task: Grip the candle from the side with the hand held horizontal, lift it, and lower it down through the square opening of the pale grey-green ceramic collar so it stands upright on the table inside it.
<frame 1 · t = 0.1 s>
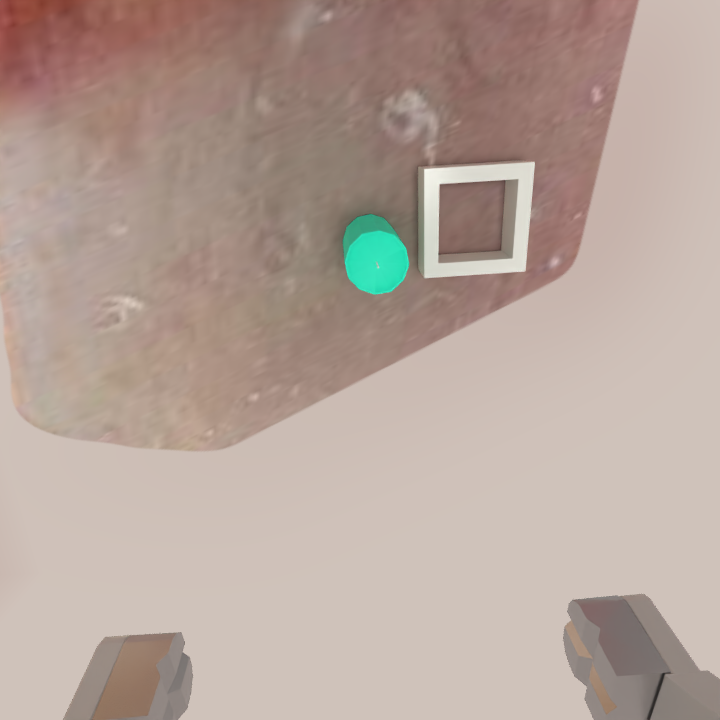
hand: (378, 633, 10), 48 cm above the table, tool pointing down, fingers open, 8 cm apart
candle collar: (467, 216, 54), on the table
candle: (369, 241, 55), on the table
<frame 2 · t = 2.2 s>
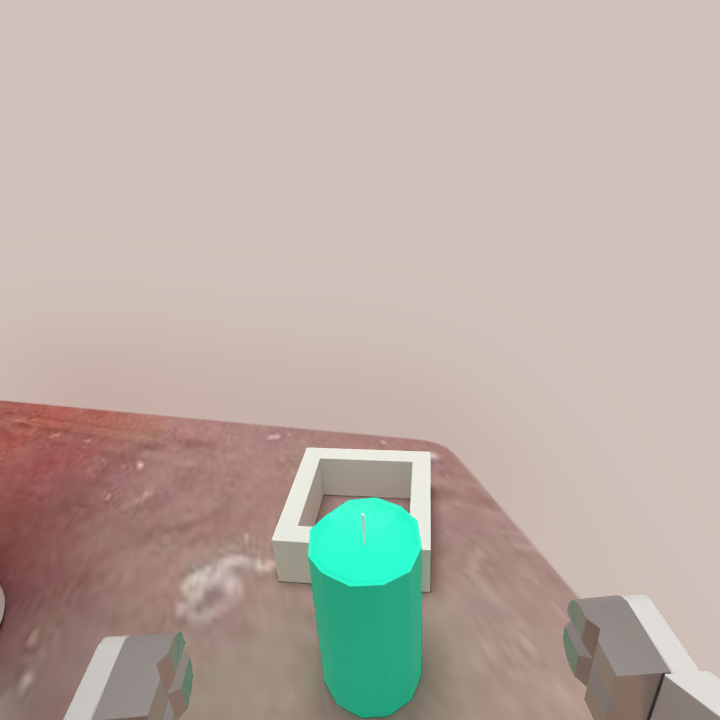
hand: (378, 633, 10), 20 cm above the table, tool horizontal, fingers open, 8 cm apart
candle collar: (362, 529, 40), on the table
candle: (372, 667, 30), on the table
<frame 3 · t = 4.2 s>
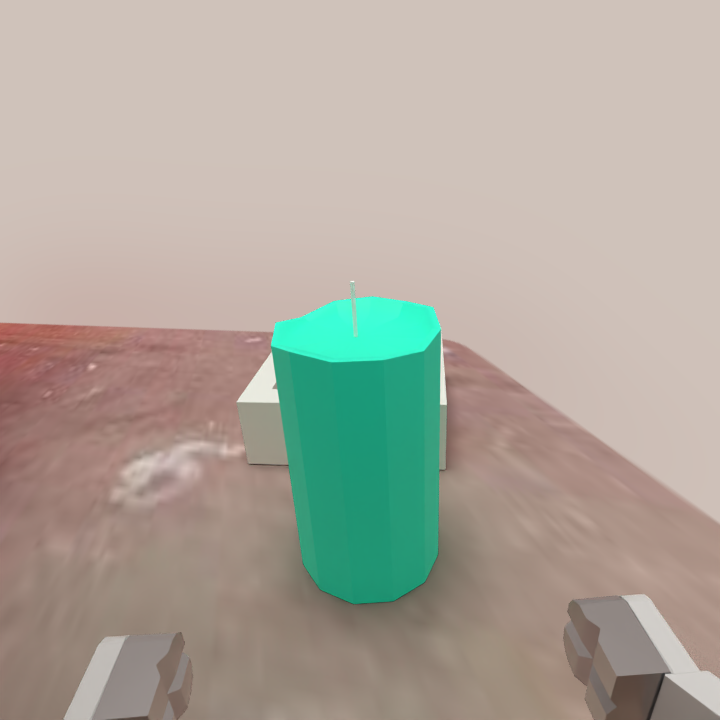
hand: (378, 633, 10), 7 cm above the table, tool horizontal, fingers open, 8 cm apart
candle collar: (356, 414, 32), on the table
candle: (369, 548, 22), on the table
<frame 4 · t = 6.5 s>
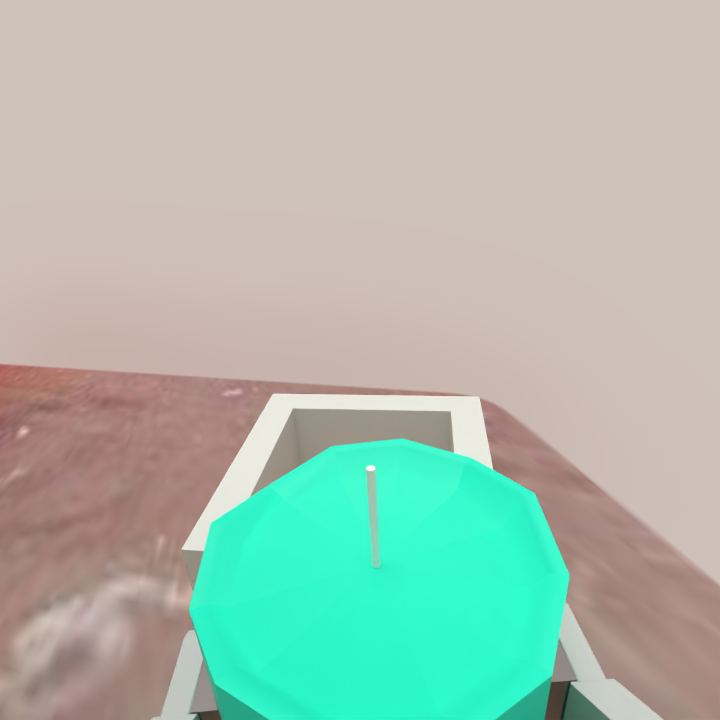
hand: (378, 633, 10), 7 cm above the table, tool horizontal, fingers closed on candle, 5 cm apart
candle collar: (364, 528, 23), on the table
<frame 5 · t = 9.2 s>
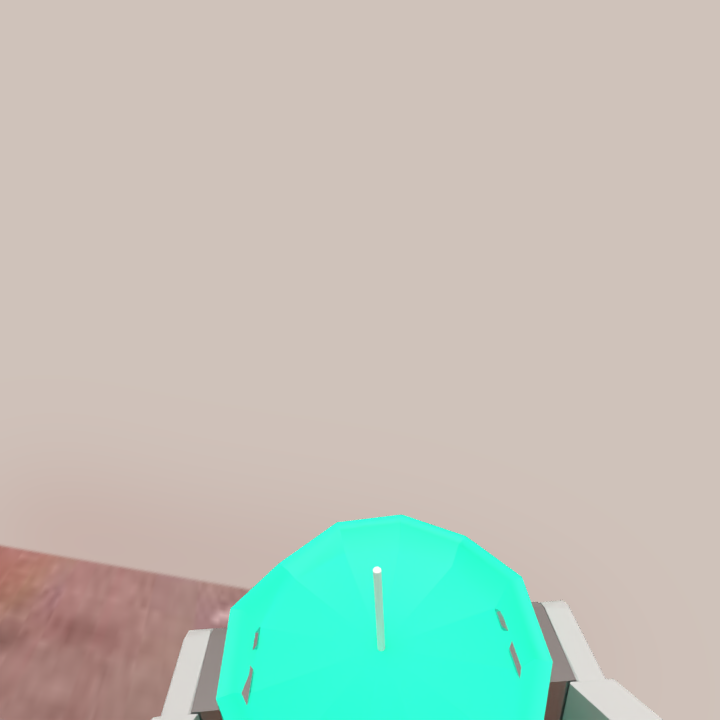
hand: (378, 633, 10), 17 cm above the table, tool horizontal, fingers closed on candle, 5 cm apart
when the fingers open (9 cm above the table, at t = 11.4 s): candle stays where it is, resting in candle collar.
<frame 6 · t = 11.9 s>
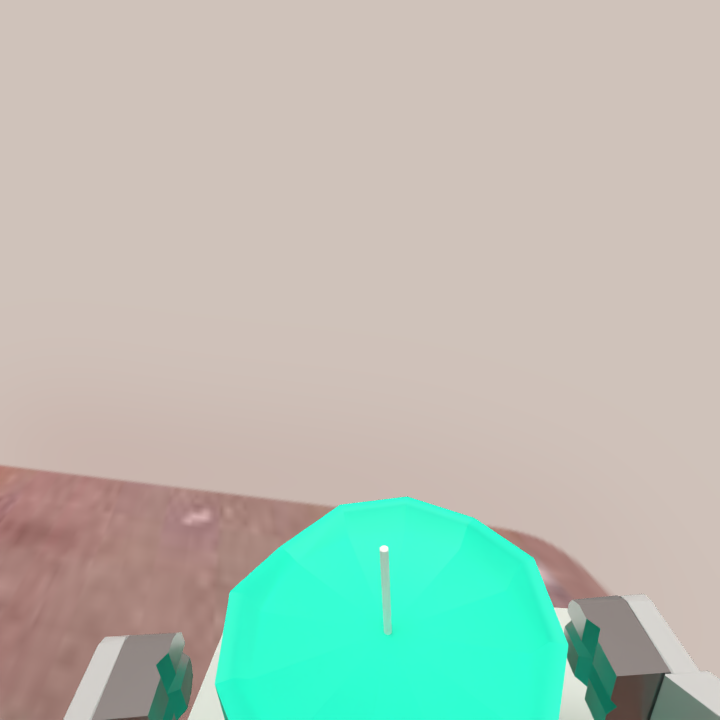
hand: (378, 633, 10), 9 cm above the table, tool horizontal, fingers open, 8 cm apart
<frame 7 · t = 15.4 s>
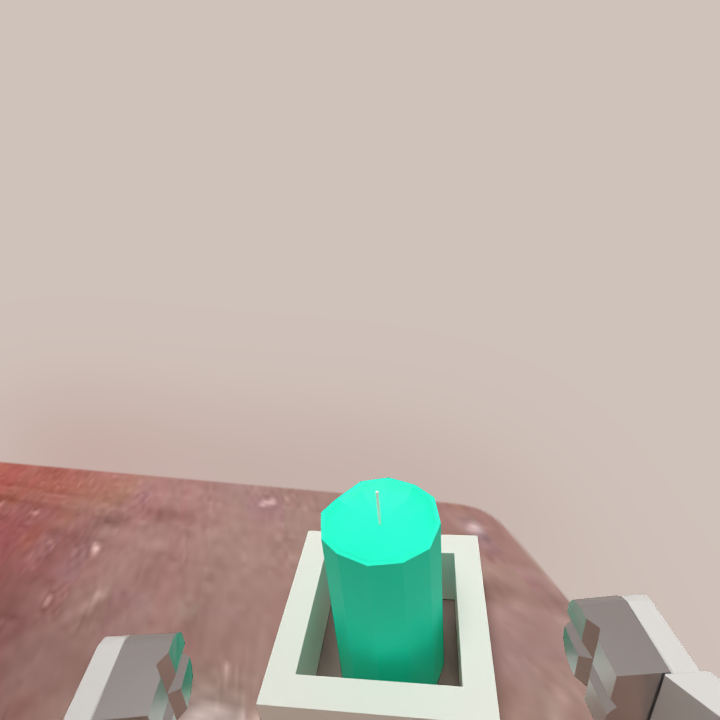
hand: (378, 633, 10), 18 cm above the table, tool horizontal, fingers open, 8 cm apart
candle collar: (388, 655, 28), on the table
candle: (391, 659, 28), resting in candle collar
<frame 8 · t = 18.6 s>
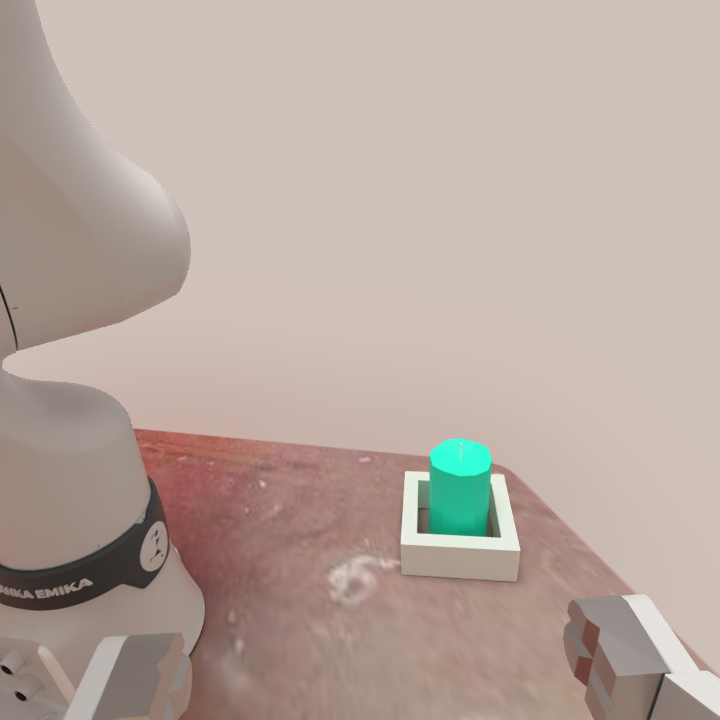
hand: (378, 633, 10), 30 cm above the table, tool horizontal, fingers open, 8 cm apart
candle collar: (455, 535, 52), on the table
candle: (457, 537, 52), resting in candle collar
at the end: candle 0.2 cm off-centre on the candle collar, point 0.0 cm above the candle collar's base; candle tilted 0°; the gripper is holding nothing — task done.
